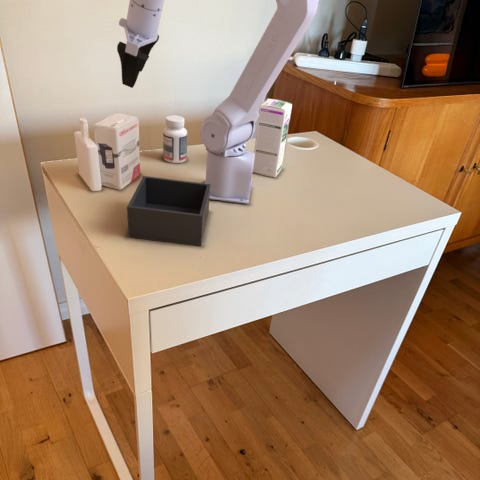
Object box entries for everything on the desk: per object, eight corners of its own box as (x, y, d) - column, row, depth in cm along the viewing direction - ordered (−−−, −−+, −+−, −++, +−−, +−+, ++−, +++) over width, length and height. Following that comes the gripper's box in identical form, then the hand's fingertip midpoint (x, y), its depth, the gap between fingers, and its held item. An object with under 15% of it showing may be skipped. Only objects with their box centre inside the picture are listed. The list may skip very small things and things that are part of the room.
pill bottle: (185, 154, 105) (186, 114, 99) (188, 163, 101) (189, 122, 96) (162, 154, 104) (161, 113, 98) (164, 163, 100) (164, 121, 94)
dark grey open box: (208, 212, 86) (210, 184, 82) (200, 246, 76) (202, 216, 73) (144, 204, 85) (143, 175, 82) (128, 237, 76) (126, 206, 72)
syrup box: (275, 178, 101) (287, 109, 91) (250, 172, 102) (259, 103, 92) (282, 169, 105) (293, 102, 95) (258, 163, 106) (267, 97, 96)
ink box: (119, 169, 95) (115, 110, 88) (141, 174, 95) (139, 116, 87) (98, 185, 89) (92, 123, 81) (121, 190, 88) (117, 128, 81)
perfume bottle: (102, 190, 88) (96, 126, 80) (92, 191, 87) (85, 127, 79) (88, 173, 92) (81, 111, 85) (79, 174, 91) (71, 112, 84)
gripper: (133, -20, 84) (121, 54, 94) (113, 5, 75) (102, 84, 85) (170, -3, 86) (154, 68, 96) (155, 24, 77) (139, 99, 87)
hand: (132, 77), depth 91 cm, fingers open, 7 cm apart
